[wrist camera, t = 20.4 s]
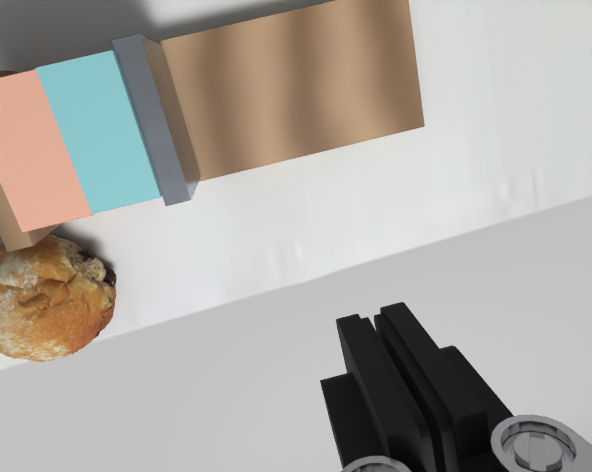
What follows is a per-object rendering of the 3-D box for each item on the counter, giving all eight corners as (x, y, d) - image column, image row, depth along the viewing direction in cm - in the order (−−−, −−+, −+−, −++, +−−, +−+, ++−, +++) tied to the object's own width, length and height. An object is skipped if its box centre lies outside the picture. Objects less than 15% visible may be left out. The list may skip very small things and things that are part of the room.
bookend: (162, 46, 31) (139, 33, 24) (201, 176, 34) (190, 200, 27) (140, 51, 31) (111, 40, 24) (181, 180, 34) (165, 206, 27)
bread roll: (20, 219, 39) (-78, 250, 32) (120, 228, 36) (36, 264, 29) (43, 323, 42) (-43, 372, 35) (137, 339, 39) (64, 397, 32)
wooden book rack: (399, -12, 34) (457, -48, 25) (417, 124, 37) (474, 136, 28) (12, 77, 32) (-75, 74, 24) (65, 210, 36) (7, 252, 27)
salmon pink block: (87, 74, 32) (35, 69, 24) (126, 185, 34) (92, 215, 26) (29, 87, 31) (-43, 87, 23) (73, 198, 34) (22, 232, 26)
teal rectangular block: (144, 59, 32) (112, 50, 24) (179, 171, 34) (160, 197, 26) (87, 72, 32) (35, 67, 24) (126, 184, 34) (91, 214, 26)
